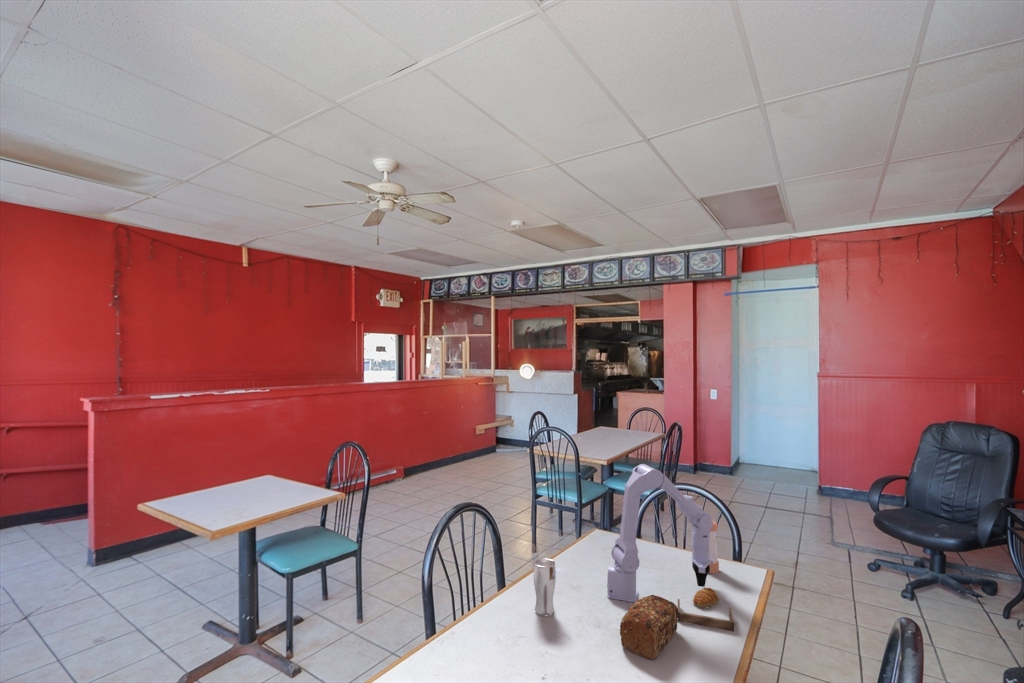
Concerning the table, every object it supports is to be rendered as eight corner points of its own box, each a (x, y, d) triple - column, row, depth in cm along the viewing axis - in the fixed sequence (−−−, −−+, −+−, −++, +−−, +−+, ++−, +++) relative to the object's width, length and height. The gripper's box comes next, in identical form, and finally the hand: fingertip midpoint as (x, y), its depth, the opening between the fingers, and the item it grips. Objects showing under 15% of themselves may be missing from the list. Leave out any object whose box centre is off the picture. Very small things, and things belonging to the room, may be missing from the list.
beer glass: (558, 608, 148) (558, 560, 149) (551, 619, 142) (551, 568, 142) (538, 603, 151) (538, 556, 152) (529, 613, 145) (530, 564, 145)
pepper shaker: (715, 565, 181) (714, 515, 182) (721, 574, 173) (721, 522, 174) (695, 564, 181) (695, 514, 182) (701, 573, 174) (701, 521, 175)
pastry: (707, 612, 147) (707, 600, 147) (687, 604, 152) (687, 592, 152) (721, 602, 153) (720, 591, 153) (701, 595, 158) (701, 583, 158)
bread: (655, 664, 121) (655, 624, 122) (617, 648, 128) (617, 610, 128) (680, 632, 136) (679, 597, 136) (645, 619, 142) (644, 586, 143)
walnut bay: (677, 621, 141) (677, 612, 141) (677, 606, 150) (677, 598, 150) (734, 631, 136) (734, 622, 136) (730, 616, 144) (730, 607, 145)
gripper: (714, 555, 154) (715, 597, 154) (711, 540, 168) (711, 578, 167) (692, 552, 156) (692, 593, 156) (690, 537, 170) (690, 575, 170)
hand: (701, 585), depth 162 cm, fingers closed
